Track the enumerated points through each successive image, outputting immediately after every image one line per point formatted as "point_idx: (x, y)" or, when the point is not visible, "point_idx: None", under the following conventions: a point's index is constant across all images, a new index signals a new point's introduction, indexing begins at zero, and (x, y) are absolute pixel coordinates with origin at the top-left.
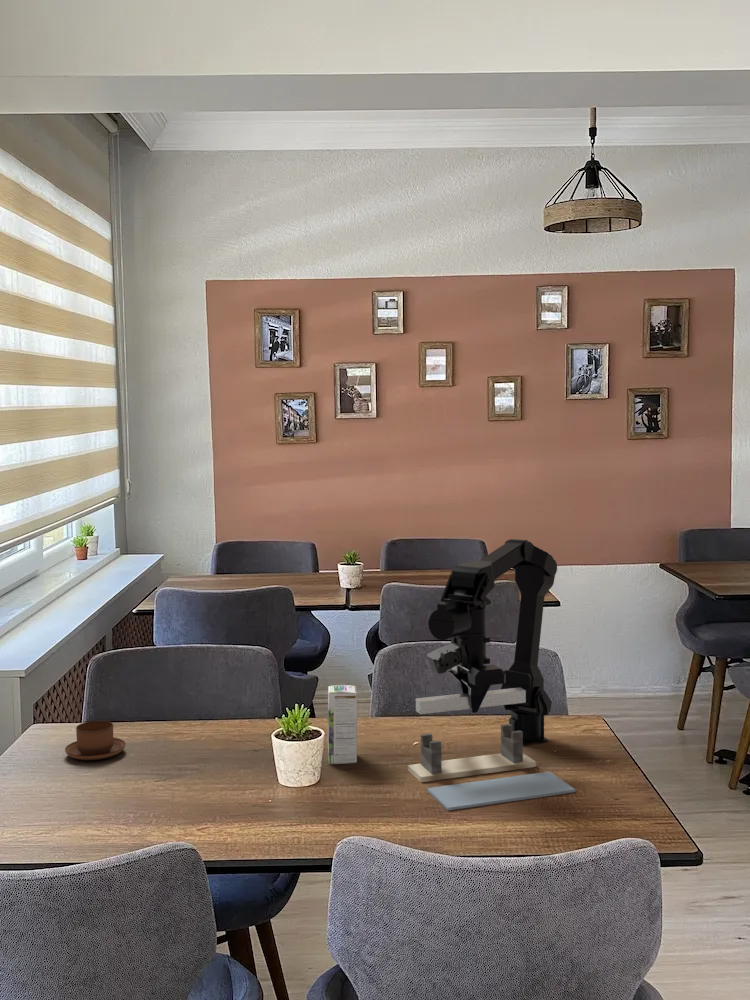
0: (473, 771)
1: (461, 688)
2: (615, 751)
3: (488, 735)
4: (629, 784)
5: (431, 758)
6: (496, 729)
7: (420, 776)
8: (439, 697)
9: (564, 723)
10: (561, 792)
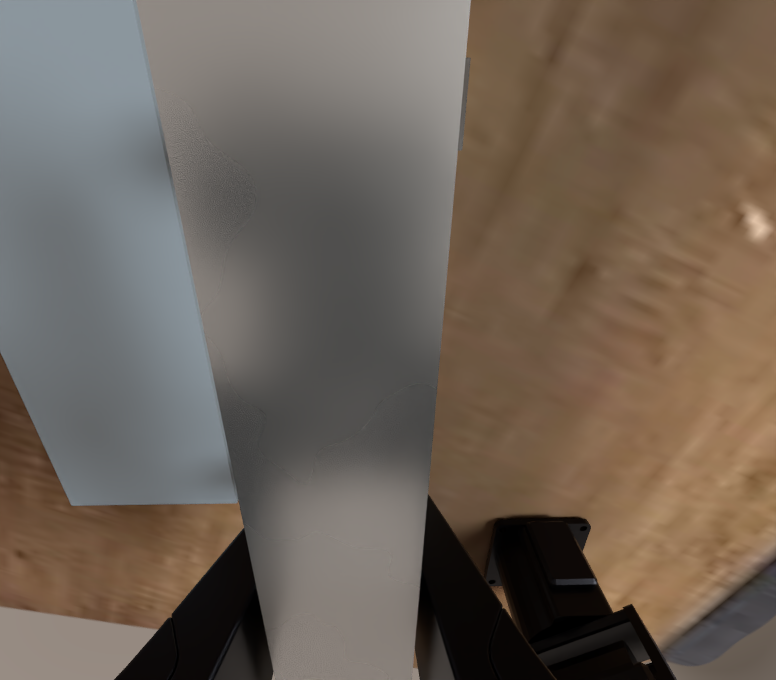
0: None
1: (477, 658)
2: None
3: (635, 480)
4: (126, 606)
5: None
6: (666, 516)
7: None
8: (341, 248)
9: None
10: (56, 468)
